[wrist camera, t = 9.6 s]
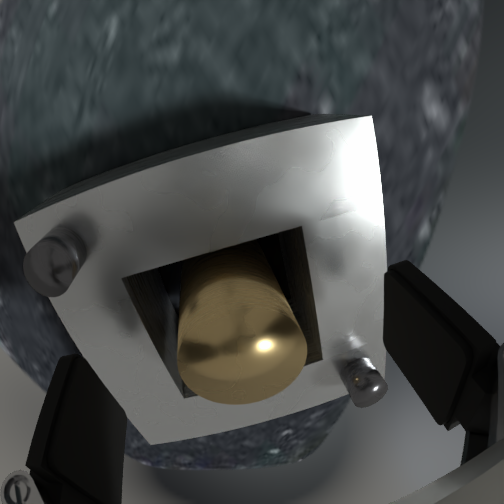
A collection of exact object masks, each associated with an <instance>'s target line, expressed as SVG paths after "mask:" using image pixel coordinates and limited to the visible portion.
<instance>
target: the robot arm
mask: <svg viewBox="0 0 504 504" xmlns="http://www.w3.org/2000/svg"><path fill="white" fill-rule="evenodd" d="M383 343H384V346H385V348H386V350H387V351H388V353H389V354H390V355H391V357H392V358H393V360H394V361H395V363H396V364H397V365H398V367H399V368H400V370H401V371H402V373H403V374H404V375H405V377H406V378H407V380H408V381H409V383H410V384H411V386H412V387H413V388H414V390H415V391H416V393H417V394H418V396H419V397H420V399H421V400H422V402H423V403H424V404H425V406H426V408H427V409H428V411H429V412H430V413H431V415H432V417H433V418H434V420H435V421H436V422H437V424H439V425H444V426H445V428H446V429H447V430H448V431H449V430H451V429H452V428H454V427H456V426H457V425H459V424H461V425H462V427H463V428H464V429H465V431H466V434H465V440H464V447H463V453H462V460H461V465H460V467H458V468H457V469H455V470H453V471H452V472H450V473H448V474H446V475H445V476H443V477H441V478H439V479H437V480H436V481H434V482H432V483H430V484H428V485H426V486H425V487H423V488H421V489H419V490H417V491H415V492H413V493H411V494H409V495H407V496H405V497H403V498H400V499H398V500H396V501H394V502H392V503H390V504H504V343H503V344H502V345H501V346H499V345H498V344H497V343H496V340H495V339H494V338H493V337H492V336H491V335H490V334H489V333H488V332H487V331H486V330H485V329H484V328H483V327H482V326H480V324H479V323H478V322H476V320H475V319H474V318H472V317H471V316H470V315H469V314H468V313H467V312H466V311H465V310H464V309H463V308H462V307H461V306H460V305H458V304H457V303H456V302H455V301H454V300H453V299H452V298H451V297H449V295H447V294H446V293H445V292H444V291H443V290H442V289H441V288H439V287H438V286H437V285H436V284H435V283H434V282H433V281H432V280H430V279H429V278H428V277H427V276H426V275H425V274H424V273H422V272H421V271H420V270H419V269H418V268H416V267H415V266H414V265H413V264H412V263H411V262H409V261H408V260H404V261H402V262H399V263H396V264H393V265H390V266H389V268H388V272H386V273H385V274H384V315H383ZM126 427H127V416H126V413H125V411H124V409H123V408H122V407H121V406H120V404H119V403H118V402H117V400H116V399H115V398H114V397H113V395H112V394H111V393H110V391H109V390H108V389H107V387H106V386H105V385H104V383H103V382H102V381H101V379H100V378H99V377H98V375H97V374H96V373H95V371H94V370H93V368H92V367H91V365H90V364H89V363H88V361H87V360H86V359H85V358H84V357H81V356H80V355H78V354H72V355H67V356H62V357H61V358H60V359H59V361H58V364H57V366H56V369H55V371H54V374H53V377H52V380H51V382H50V385H49V388H48V391H47V394H46V397H45V400H44V403H43V406H42V409H41V412H40V415H39V418H38V422H37V425H36V429H35V432H34V435H33V439H32V442H31V446H30V450H29V454H28V457H27V461H26V466H27V467H28V468H29V469H30V474H28V473H27V472H26V471H22V470H19V471H14V472H12V473H10V474H9V475H8V476H7V477H6V479H5V480H4V482H3V484H2V487H1V501H2V504H121V499H122V478H123V462H124V449H125V437H126Z"/></svg>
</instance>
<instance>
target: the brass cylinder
mask: <svg viewBox="0 0 504 504" xmlns="http://www.w3.org/2000/svg"><path fill="white" fill-rule="evenodd" d="M306 358H307V343H306V339H305V337H304V335H303V333H302V331H301V328H300V326H299V324H298V322H297V320H296V318H295V316H294V314H293V312H292V310H291V308H290V306H289V304H288V302H287V300H286V298H285V296H284V294H283V291H282V289H281V287H280V285H279V283H278V281H277V279H276V277H275V275H274V273H273V271H272V269H271V267H270V265H269V263H268V261H267V259H266V257H265V255H264V253H263V251H262V249H261V247H260V245H259V243H258V242H257V240H256V239H254V240H250V241H247V242H243V243H240V244H236V245H233V246H229V247H226V248H222V249H219V250H215V251H212V252H209V253H205V254H202V255H198V256H195V257H191V258H188V259H184V260H182V273H181V287H180V304H179V324H178V349H177V366H178V371H179V374H180V376H181V378H182V380H183V381H184V383H185V384H186V385H187V386H188V388H189V389H191V390H192V391H193V392H194V393H196V394H197V395H199V396H200V397H202V398H205V399H207V400H210V401H212V402H216V403H221V404H228V405H242V404H250V403H255V402H259V401H262V400H265V399H267V398H270V397H272V396H274V395H276V394H278V393H280V392H281V391H283V390H284V389H285V388H287V387H288V386H289V385H290V384H291V383H292V382H293V381H294V380H295V379H296V378H297V377H298V375H299V374H300V372H301V371H302V369H303V367H304V364H305V362H306Z"/></svg>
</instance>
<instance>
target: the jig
mask: <svg viewBox="0 0 504 504" xmlns="http://www.w3.org/2000/svg"><path fill="white" fill-rule="evenodd" d="M14 224H15V227H16V229H17V232H18V234H19V237H20V239H21V241H22V244H23V246H24V248H25V250H26V253H27V254H26V255H25V257H24V261H23V270H24V274H25V277H26V279H27V281H28V283H29V284H30V286H31V287H32V288H33V289H34V290H35V291H37V292H38V293H40V294H41V295H44V296H47V297H49V299H50V301H51V303H52V305H53V307H54V308H55V310H56V312H57V314H58V316H59V317H60V319H61V321H62V323H63V324H64V326H65V328H66V329H67V331H68V333H69V334H70V336H71V338H72V339H73V341H74V342H75V344H76V346H77V347H78V349H79V350H80V352H81V353H82V355H83V357H84V358H85V359H86V360H87V361H88V363H89V364H90V365H91V367H92V368H93V370H94V371H95V373H96V374H97V375H98V377H99V378H100V379H101V381H102V382H103V383H104V385H105V386H106V387H107V389H108V390H109V391H110V393H111V394H112V395H113V397H114V398H115V399H116V400H117V402H118V403H119V404H120V406H121V407H122V408H123V409H124V411H125V413H126V416H127V417H128V418H129V420H130V421H131V422H132V423H133V425H134V426H135V427H136V428H137V429H138V431H139V432H140V433H141V434H142V435H143V436H144V438H145V439H146V440H147V441H148V442H149V443H150V444H151V445H153V444H160V443H167V442H173V441H179V440H185V439H190V438H195V437H201V436H206V435H210V434H215V433H220V432H224V431H229V430H233V429H237V428H241V427H245V426H249V425H253V424H257V423H261V422H264V421H268V420H271V419H275V418H278V417H282V416H285V415H288V414H292V413H295V412H298V411H301V410H304V409H307V408H310V407H313V406H316V405H319V404H322V403H325V402H328V401H331V400H333V399H336V398H339V397H341V396H344V395H347V394H349V395H350V397H351V399H352V401H353V402H354V404H355V406H357V407H361V408H363V407H368V406H370V405H372V404H374V403H376V402H378V401H379V400H380V399H381V398H382V397H383V396H384V395H385V394H386V392H387V389H388V385H387V383H386V382H385V380H384V376H385V359H386V348H385V346H384V343H383V315H384V274H385V273H386V272H387V261H386V239H385V223H384V210H383V198H382V188H381V179H380V170H379V162H378V154H377V147H376V140H375V133H374V127H373V121H372V116H367V115H345V114H313V115H308V116H303V117H297V118H292V119H287V120H283V121H278V122H273V123H269V124H264V125H260V126H255V127H251V128H247V129H243V130H239V131H235V132H231V133H227V134H223V135H219V136H216V137H212V138H208V139H205V140H201V141H198V142H194V143H191V144H187V145H184V146H181V147H177V148H174V149H171V150H168V151H164V152H161V153H158V154H155V155H152V156H149V157H146V158H143V159H140V160H137V161H134V162H131V163H129V164H126V165H123V166H120V167H117V168H115V169H112V170H109V171H107V172H104V173H101V174H99V175H96V176H93V177H91V178H88V179H86V180H83V181H81V182H78V183H76V184H74V185H71V186H69V187H66V188H64V189H63V190H61V191H59V192H58V193H56V194H55V195H53V196H52V197H50V198H48V199H47V200H45V201H44V202H42V203H41V204H39V205H38V206H36V207H35V208H33V209H32V210H31V211H29V212H28V213H26V214H25V215H23V216H22V217H21V218H19V219H18V220H16V221H15V222H14ZM275 233H278V238H279V243H280V247H281V252H282V256H283V261H284V266H285V271H286V275H287V280H288V285H289V290H290V295H291V299H288V300H287V302H288V304H289V306H290V308H291V310H292V312H293V314H294V316H295V318H296V320H297V322H298V324H299V326H300V328H301V331H302V333H303V335H304V337H305V339H306V343H307V358H306V362H305V364H304V367H303V369H302V371H301V372H300V374H299V375H298V377H297V378H296V379H295V380H294V381H293V382H292V383H291V384H290V385H289V386H288V387H287V388H285V389H284V390H283V391H281V392H280V393H278V394H276V395H274V396H272V397H270V398H267V399H265V400H262V401H259V402H255V403H250V404H242V405H228V404H221V403H216V402H212V401H210V400H207V399H205V398H202V397H200V396H199V395H197V394H196V393H194V392H193V391H192V390H191V389H189V388H188V386H187V385H186V384H185V383H184V381H183V380H182V378H181V376H180V374H179V371H178V366H177V349H178V324H179V318H178V316H177V314H176V311H175V309H174V307H173V304H172V302H171V300H170V297H169V295H168V292H167V290H166V288H165V285H164V283H163V280H162V278H161V275H160V273H159V270H158V268H157V267H161V266H164V265H167V264H171V263H174V262H178V261H181V260H184V259H188V258H191V257H195V256H198V255H202V254H205V253H209V252H212V251H215V250H219V249H222V248H226V247H229V246H233V245H236V244H240V243H243V242H247V241H250V240H254V239H257V238H261V237H264V236H268V235H271V234H275Z"/></svg>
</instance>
